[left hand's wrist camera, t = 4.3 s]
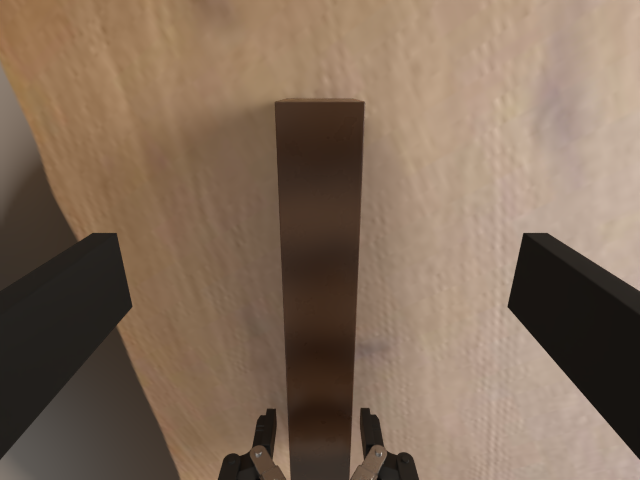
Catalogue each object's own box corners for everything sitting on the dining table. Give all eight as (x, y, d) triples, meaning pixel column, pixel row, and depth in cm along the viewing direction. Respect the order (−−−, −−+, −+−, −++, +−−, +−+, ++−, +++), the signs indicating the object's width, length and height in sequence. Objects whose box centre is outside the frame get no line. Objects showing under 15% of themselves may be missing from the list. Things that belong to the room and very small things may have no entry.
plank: (286, 98, 25) (274, 101, 19) (353, 98, 25) (365, 101, 19) (296, 429, 36) (291, 503, 30) (343, 429, 36) (348, 503, 30)
